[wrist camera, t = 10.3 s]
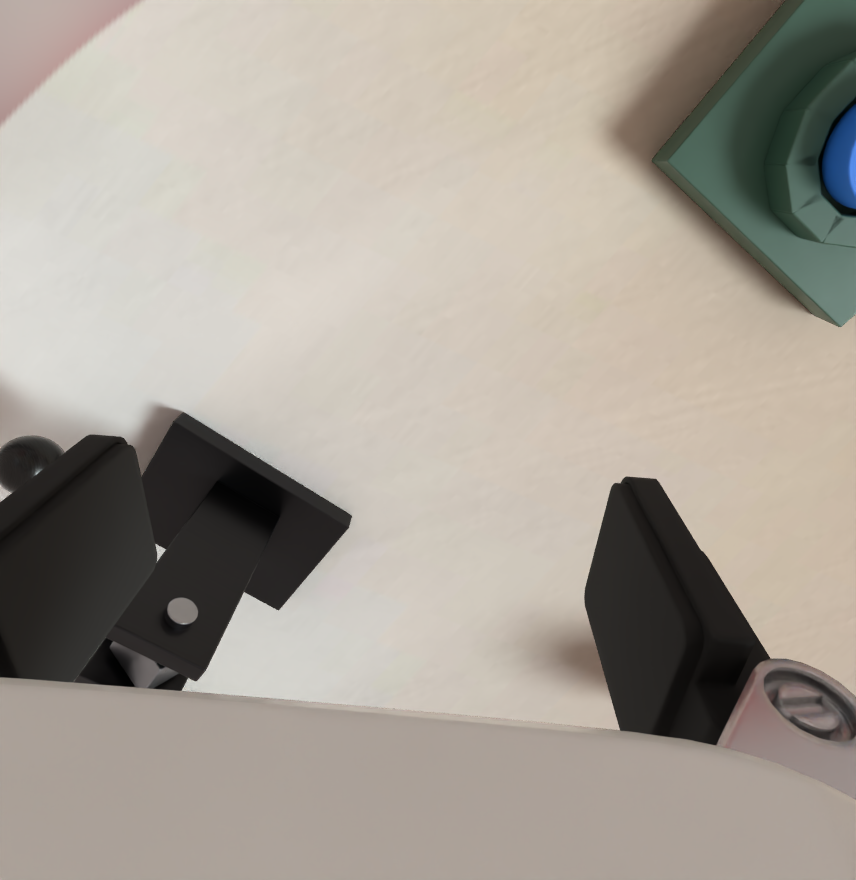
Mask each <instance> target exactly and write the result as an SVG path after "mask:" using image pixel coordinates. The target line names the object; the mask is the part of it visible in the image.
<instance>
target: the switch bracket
mask: <svg viewBox="0 0 856 880" xmlns="http://www.w3.org/2000/svg"><path fill="white" fill-rule="evenodd" d="M141 479H142V483H143V488H144V493H145V498H146V503H147V507H148V512H149V517H150V522H151V527H152V531H153V536H154V541H155V544H157V545H159V546H161V547H163V548H165V549H166V551H165V552H164V553H163V555H162V556H161V557H160V559H159V560H158V561H157V563H156V566H155V569H154V571H153V572H152V574H151V575H150V577H149V578H148V579H147V581H146V582H145V584H144V585H143V586H142V588H141V589H140V590H139V592H138V593H137V595H136V596H135V597H134V599H133V600H132V602H131V603H130V604H129V606H128V607H127V608H126V610H125V611H124V613H123V614H122V615H121V617H120V618H119V619H118V621H117V622H116V624H115V625H114V626H113V628H112V629H111V631H110V632H109V633H108V635H107V636H106V638H105V639H104V640H103V642H102V643H101V644H100V646H99V647H98V649H97V650H96V651H95V653H94V654H93V655H92V657H91V658H90V660H89V661H88V662H87V664H86V665H85V666H84V668H83V669H82V671H81V672H80V673H79V675H78V676H77V678H76V679H75V681H74V682H73V683H85V684H97V685H110V686H123V687H135V685H134V684H133V682H132V681H131V679H130V678H129V676H128V675H127V673H126V672H125V670H124V669H123V667H122V666H121V664H120V663H119V661H118V660H117V658H116V657H115V655H114V654H113V652H112V651H111V649H110V646H111V644H112V643H113V641H114V642H116V643H118V644H120V645H122V646H124V647H126V648H128V649H130V650H132V651H134V652H136V653H138V654H140V655H142V656H145V657H147V658H149V659H151V660H153V661H155V662H157V663H159V664H161V665H163V666H165V667H167V668H169V669H171V670H173V671H175V672H177V673H179V674H177V675H175V676H174V677H172V678H170V679H168V680H167V681H165V682H163V683H162V684H160V685H158V686H156V687H155V688H153V689H162V690H174V691H182V689H183V687H184V685H185V683H186V681H187V679H188V678H190V679H192V680H194V681H197V680H198V679H199V678H200V677H201V676H202V674H203V673H204V672H205V671H206V669H207V667H208V665H209V663H210V661H211V659H212V657H213V655H214V653H215V651H216V648H217V646H218V644H219V642H220V640H221V638H222V636H223V634H224V632H225V630H226V628H227V626H228V624H229V622H230V620H231V618H232V616H233V614H234V611H235V609H236V607H237V605H238V603H239V601H240V599H241V597H242V595H243V593H244V592H245V593H247V594H249V595H251V596H253V597H255V598H256V599H258V600H260V601H262V602H264V603H266V604H267V605H269V606H271V607H273V608H275V609H277V610H279V609H280V608H281V607H282V606H283V605H284V604H285V602H286V601H287V600H288V599H289V598H290V596H291V595H292V594H293V593H294V592H295V591H296V589H297V588H298V587H299V586H300V585H301V584H302V582H303V581H304V580H305V579H306V578H307V576H308V575H309V574H310V573H311V572H312V571H313V569H314V568H315V567H316V566H317V565H318V563H319V562H320V561H321V560H322V559H323V558H324V556H325V555H326V554H327V553H328V552H329V550H330V549H331V548H332V547H333V546H334V545H335V543H336V542H337V541H338V540H339V539H340V537H341V536H342V535H343V534H344V533H345V532H346V530H347V529H348V528H349V525H350V521H351V518H352V516H351V515H350V514H348V513H346V512H345V511H343V510H342V509H340V508H338V507H337V506H335V505H333V504H332V503H330V502H328V501H327V500H325V499H324V498H322V497H320V496H319V495H317V494H315V493H314V492H312V491H311V490H309V489H307V488H306V487H304V486H302V485H301V484H299V483H298V482H296V481H294V480H293V479H291V478H289V477H288V476H286V475H285V474H283V473H281V472H280V471H278V470H276V469H275V468H273V467H272V466H270V465H268V464H267V463H265V462H263V461H262V460H260V459H259V458H257V457H255V456H254V455H252V454H250V453H249V452H247V451H246V450H244V449H242V448H241V447H239V446H237V445H236V444H234V443H233V442H231V441H229V440H228V439H226V438H224V437H223V436H221V435H220V434H218V433H216V432H215V431H213V430H211V429H210V428H208V427H207V426H205V425H203V424H202V423H200V422H198V421H197V420H195V419H194V418H192V417H190V416H189V415H187V414H185V413H182V414H181V415H180V416H179V417H178V418H177V419H176V420H175V421H174V422H173V424H172V425H171V427H170V429H169V430H168V432H167V434H166V436H165V437H164V439H163V441H162V442H161V444H160V446H159V448H158V449H157V451H156V453H155V455H154V456H153V458H152V460H151V461H150V463H149V465H148V467H147V468H146V470H145V472H144V473H143V475H142V477H141Z"/></svg>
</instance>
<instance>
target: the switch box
mask: <svg viewBox="0 0 856 880" xmlns="http://www.w3.org/2000/svg"><path fill="white" fill-rule="evenodd" d="M854 104H856V0H786V1H785V2H784V3H783V4H782V5H781V7H780V8H779V9H778V10H777V11H776V12H775V14H774V15H773V16H772V17H771V18H770V20H769V21H768V22H767V23H766V24H765V26H764V27H763V28H762V29H761V30H760V32H759V33H758V34H757V35H756V36H755V37H754V39H753V40H752V41H751V42H750V43H749V45H748V46H747V47H746V48H745V49H744V51H743V52H742V53H741V54H740V55H739V57H738V58H737V59H736V60H735V61H734V62H733V64H732V65H731V66H730V67H729V68H728V70H727V71H726V72H725V73H724V74H723V76H722V77H721V78H720V79H719V80H718V82H717V83H716V84H715V85H714V86H713V88H712V89H711V90H710V91H709V92H708V93H707V95H706V96H705V97H704V98H703V99H702V101H701V102H700V103H699V104H698V105H697V107H696V108H695V109H694V110H693V111H692V113H691V114H690V115H689V116H688V117H687V118H686V120H685V121H684V122H683V123H682V124H681V126H680V127H679V128H678V129H677V130H676V132H675V133H674V134H673V135H672V136H671V138H670V139H669V140H668V141H667V142H666V143H665V145H664V146H663V147H662V148H661V149H660V151H659V152H658V153H657V154H656V155H655V157H654V158H653V159H652V162H653V163H654V164H655V165H656V166H657V167H658V168H660V169H661V170H662V171H663V172H664V173H665V174H666V175H667V176H668V177H669V178H670V179H671V180H672V181H673V182H674V183H675V184H676V185H677V186H678V187H680V188H681V189H682V190H683V191H684V192H685V193H686V194H687V195H688V196H689V197H690V198H691V199H692V200H693V201H694V202H695V203H696V204H697V205H698V206H699V207H701V208H702V209H703V210H704V211H705V212H706V213H707V214H708V215H709V216H710V217H711V218H712V219H713V220H714V221H715V222H716V223H717V224H718V225H719V226H721V227H722V228H723V229H724V230H725V231H726V232H727V233H728V234H729V235H730V236H731V237H732V238H733V239H734V240H735V241H736V242H737V243H738V244H739V245H741V246H742V247H743V248H744V249H745V250H746V251H747V252H748V253H749V254H750V255H751V256H752V257H753V258H754V259H755V260H756V261H757V262H758V263H759V264H761V265H762V266H763V267H764V268H765V269H766V270H767V271H768V272H769V273H770V274H771V275H772V276H773V277H774V278H775V279H776V280H777V281H778V282H779V283H781V284H782V285H783V286H784V287H785V288H786V289H787V290H788V291H789V292H790V293H791V294H792V295H793V296H794V297H795V298H796V299H797V300H798V301H799V302H801V303H802V304H803V305H804V306H805V307H806V308H807V309H808V310H809V311H810V312H811V313H812V314H813V315H814V316H816V317H818V318H821V319H823V320H825V321H827V322H829V323H832V324H834V325H836V326H838V327H842V326H843V325H844V324H845V323H846V322H847V321H848V320H850V319H851V318H852V317H853V316H854V315H855V314H856V209H853V208H849V207H846V206H843V205H842V204H840V203H838V202H837V201H836V200H835V199H833V198H832V196H831V195H830V194H829V192H828V190H827V189H826V187H825V184H824V181H823V176H822V159H823V154H824V150H825V147H826V144H827V141H828V139H829V137H830V135H831V133H832V131H833V129H834V128H835V126H836V125H837V123H838V122H839V120H840V119H841V118H842V117H843V116H844V114H845V113H846V112H847V111H848V110H849V109H850V108H851V107H852V106H853V105H854Z"/></svg>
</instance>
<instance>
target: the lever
mask: <svg viewBox="0 0 856 880" xmlns="http://www.w3.org/2000/svg"><path fill="white" fill-rule="evenodd" d="M63 454H64V451H63V449H62V448H61V447H60V446H59V445H58V444H56V443H55V442H54V441H52V440H50V439H47V438H44V437H41V436H22V437H18V438H15V439H13V440H11V441H9V442H8V443H6V444H5V445H4V446H2V447H1V449H0V485H1V486H2V487H4V488H5V489H6V490H8V491H9V492H11V493H13V492H14V491H16V490H17V489H18V488H20V487H21V486H22V485H23V484H25V483H26V482H27V481H29V480H30V479H31V478H33V477H34V476H35V475H36V474H38V473H39V472H40V471H42V470H43V469H44V468H46V467H47V466H48V465H50V464H51V463H52V462H53V461H55V460H56V459H57V458H59V457H60V456H61V455H63ZM110 649H111V651H112V652H113V654H114V655H115V657H116V658H117V660H118V661H119V663H120V664H121V666H122V667H123V669H124V670H125V672H126V673H127V675H128V676H129V678H130V679H131V681H132V682H133V684H134V685H135V687H136V688H149V689H153V688H155V687H156V686H158V685H160V684H162V683H163V682H165V681H167V680H168V679H170V678H172V677H174V676H175V675H177V674H179V673H177V672H175V671H173V670H171V669H169V668H167V667H165V666H163V665H161V664H159V663H157V662H155V661H153V660H151V659H149V658H147V657H145V656H142V655H140V654H138V653H136V652H134V651H132V650H130V649H128V648H126V647H124V646H122V645H120V644H118V643H116V642H114V641H113V643H112V644H111V646H110Z"/></svg>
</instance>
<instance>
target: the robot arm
mask: <svg viewBox="0 0 856 880" xmlns="http://www.w3.org/2000/svg"><path fill="white" fill-rule="evenodd" d="M156 562H157V551H156V546H155V541H154V536H153V531H152V527H151V522H150V517H149V512H148V507H147V503H146V498H145V493H144V488H143V483H142V479H141V474H140V469H139V464H138V459H137V455H136V451H135V449H134V447H133V446H131V445H128V444H127V442H126V441H125V439H124V438H122V437H116V436H103V435H88V436H86V437H85V438H83V439H82V440H81V441H79V442H78V443H77V444H76V445H74V446H73V447H72V448H70V449H69V450H68V451H66V452H65V453H64V454H63V455H61V456H60V457H59V458H57V459H56V460H55V461H53V462H52V463H51V464H50V465H48V466H47V467H46V468H44V469H43V470H42V471H40V472H39V473H38V474H36V475H35V476H34V477H33V478H31V479H30V480H29V481H27V482H26V483H25V484H23V485H22V486H21V487H20V488H18V489H17V490H16V491H14V492H13V493H12V494H10V495H9V496H8V497H6V498H5V499H4V500H3V501H1V502H0V880H856V697H855V695H854V694H852V693H851V692H850V691H849V690H848V689H847V688H845V687H844V686H843V685H842V684H841V683H839V682H838V681H837V680H835V679H833V678H832V677H830V676H829V675H827V674H825V673H824V672H822V671H820V670H818V669H816V668H813V667H811V666H809V665H806V664H804V663H801V662H797V661H793V660H788V659H770V657H769V656H768V654H767V652H766V651H765V649H764V648H763V646H762V644H761V643H760V641H759V639H758V638H757V636H756V635H755V633H754V631H753V630H752V628H751V627H750V625H749V623H748V622H747V620H746V618H745V617H744V615H743V614H742V612H741V610H740V609H739V607H738V606H737V604H736V602H735V601H734V599H733V597H732V596H731V594H730V593H729V591H728V589H727V588H726V586H725V585H724V583H723V581H722V580H721V578H720V576H719V575H718V573H717V572H716V570H715V568H714V567H713V565H712V563H711V562H710V560H709V559H708V557H707V556H706V555H705V554H704V552H703V551H701V550H700V548H699V547H698V545H697V543H696V542H695V540H694V539H693V537H692V535H691V534H690V532H689V530H688V529H687V527H686V526H685V524H684V522H683V521H682V519H681V517H680V516H679V514H678V512H677V511H676V509H675V508H674V506H673V504H672V503H671V501H670V499H669V498H668V496H667V494H666V493H665V491H664V490H663V488H662V486H661V485H660V483H659V482H658V481H657V479H650V478H638V477H625V478H624V479H623V480H622V482H621V484H620V483H614V484H613V486H612V487H611V490H610V494H609V498H608V502H607V506H606V510H605V514H604V517H603V521H602V525H601V529H600V533H599V537H598V541H597V545H596V548H595V552H594V556H593V560H592V564H591V568H590V572H589V575H588V579H587V583H586V587H585V595H584V598H585V607H586V611H587V614H588V618H589V622H590V625H591V629H592V632H593V636H594V639H595V643H596V646H597V650H598V653H599V657H600V660H601V664H602V668H603V671H604V675H605V678H606V682H607V685H608V689H609V692H610V696H611V699H612V703H613V706H614V710H615V714H616V717H617V721H618V724H619V728H620V730H611V729H601V728H592V727H582V726H572V725H562V724H553V723H543V722H534V721H523V720H512V719H501V718H490V717H478V716H467V715H456V714H445V713H434V712H423V711H411V710H400V709H389V708H378V707H366V706H354V705H343V704H331V703H319V702H307V701H295V700H284V699H272V698H260V697H247V696H235V695H223V694H211V693H199V692H187V691H174V690H162V689H149V688H136V687H123V686H110V685H97V684H85V683H73V682H74V680H75V679H76V678H77V676H78V675H79V673H80V672H81V671H82V669H83V668H84V666H85V665H86V664H87V662H88V661H89V660H90V658H91V657H92V655H93V654H94V653H95V651H96V650H97V648H98V647H99V646H100V644H101V643H102V642H103V640H104V639H105V637H106V636H107V635H108V633H109V632H110V631H111V629H112V628H113V626H114V625H115V624H116V622H117V621H118V619H119V618H120V617H121V615H122V614H123V613H124V611H125V610H126V608H127V607H128V606H129V604H130V603H131V602H132V600H133V599H134V597H135V596H136V595H137V593H138V592H139V590H140V589H141V588H142V586H143V585H144V584H145V582H146V581H147V579H148V578H149V577H150V575H151V574H152V572H153V571H154V569H155V566H156Z"/></svg>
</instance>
